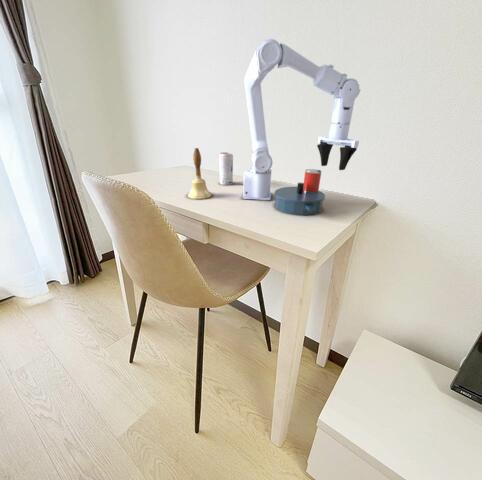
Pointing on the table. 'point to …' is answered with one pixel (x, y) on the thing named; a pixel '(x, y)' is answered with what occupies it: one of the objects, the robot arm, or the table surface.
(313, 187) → the tin can
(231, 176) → the energy drink
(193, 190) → the hand bell
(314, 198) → the lid
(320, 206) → the pot
